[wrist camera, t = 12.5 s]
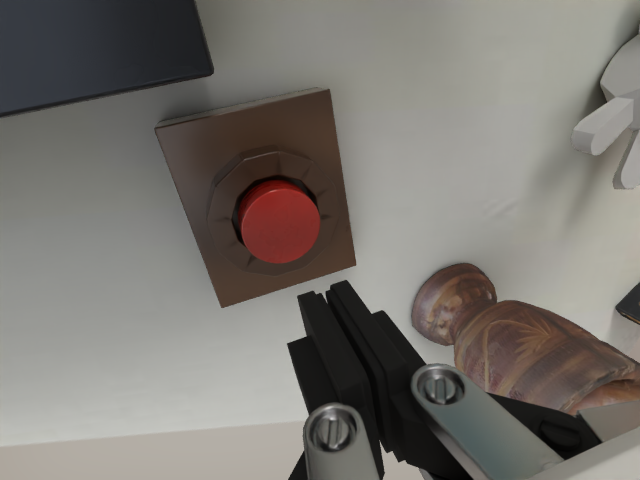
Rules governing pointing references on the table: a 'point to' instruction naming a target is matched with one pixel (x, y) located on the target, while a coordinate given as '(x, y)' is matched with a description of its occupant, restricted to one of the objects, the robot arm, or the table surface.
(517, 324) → the mortar and pestle
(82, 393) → the table surface
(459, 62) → the table surface
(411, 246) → the table surface
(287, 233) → the button
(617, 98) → the bunny figurine
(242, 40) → the table surface
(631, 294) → the ammunition clip
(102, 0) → the oven
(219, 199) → the button block
